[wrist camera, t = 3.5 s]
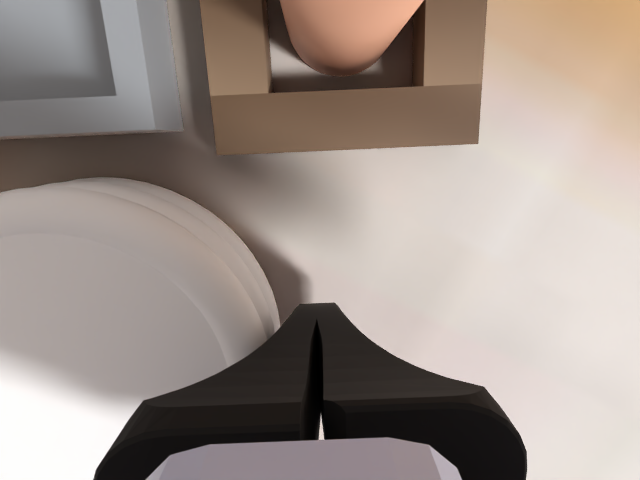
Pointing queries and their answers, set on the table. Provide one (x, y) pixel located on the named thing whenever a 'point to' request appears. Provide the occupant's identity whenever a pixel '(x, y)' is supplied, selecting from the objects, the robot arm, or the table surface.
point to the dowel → (344, 31)
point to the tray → (86, 68)
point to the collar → (344, 105)
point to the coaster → (112, 314)
